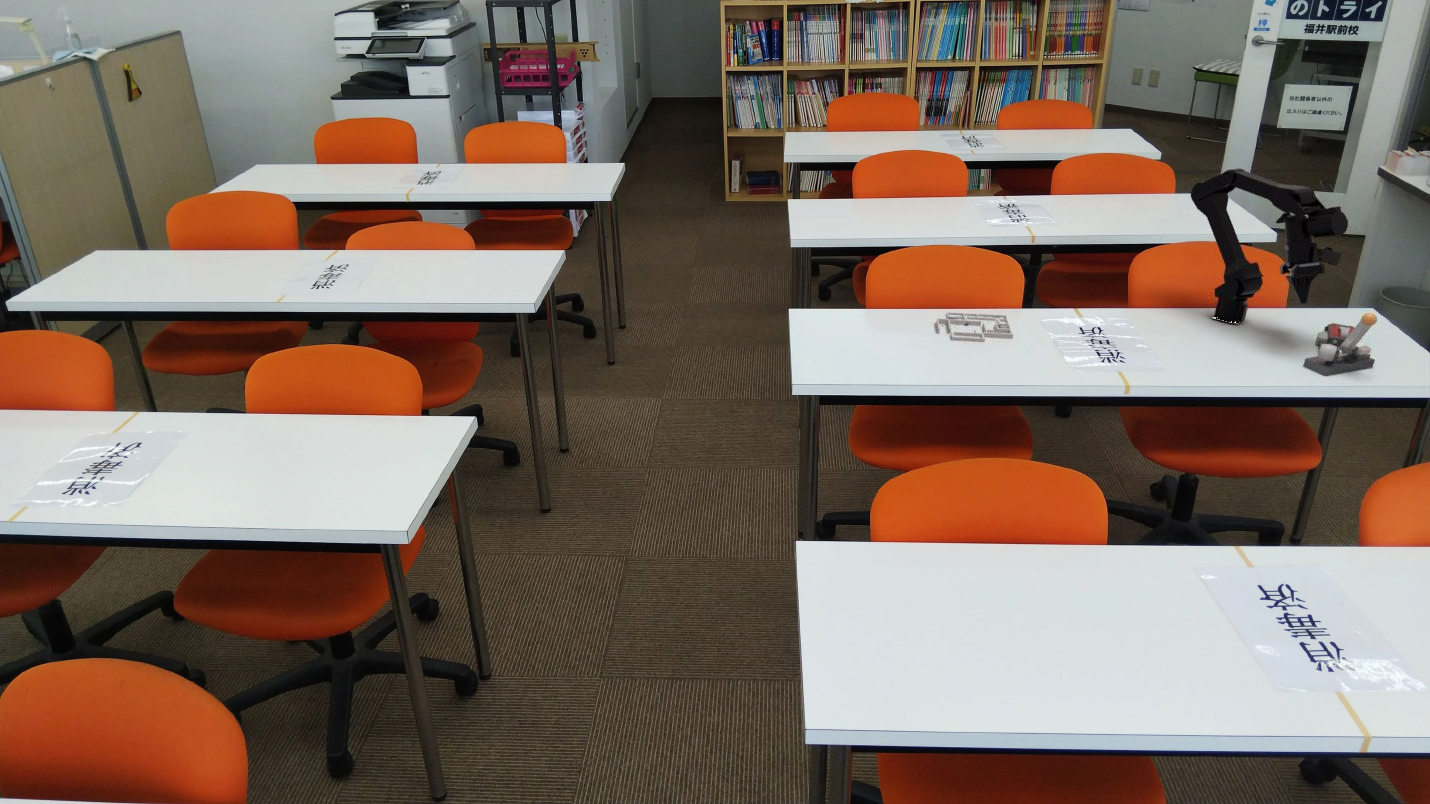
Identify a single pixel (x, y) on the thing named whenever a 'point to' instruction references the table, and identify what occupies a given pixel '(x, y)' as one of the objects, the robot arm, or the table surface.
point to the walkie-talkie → (1334, 335)
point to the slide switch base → (1340, 363)
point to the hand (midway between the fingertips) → (1303, 303)
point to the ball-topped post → (1357, 334)
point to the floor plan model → (1001, 328)
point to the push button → (1327, 352)
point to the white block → (1363, 348)
